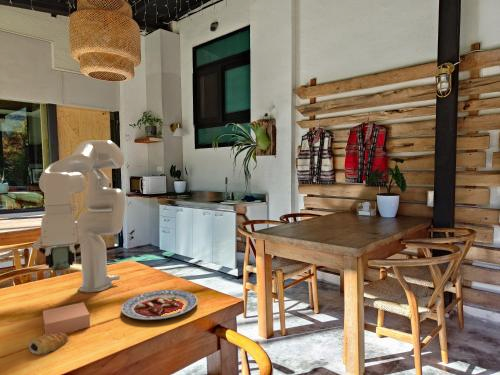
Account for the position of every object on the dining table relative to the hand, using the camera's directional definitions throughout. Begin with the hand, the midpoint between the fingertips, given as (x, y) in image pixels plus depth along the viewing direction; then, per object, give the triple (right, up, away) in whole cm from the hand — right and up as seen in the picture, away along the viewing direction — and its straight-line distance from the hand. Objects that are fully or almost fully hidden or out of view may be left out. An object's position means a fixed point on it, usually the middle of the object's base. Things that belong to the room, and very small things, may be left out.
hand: (60, 265), depth 115 cm
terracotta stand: (+3, -18, -2) cm, 19 cm away
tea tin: (0, -1, 0) cm, 1 cm away
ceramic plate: (+30, -18, +9) cm, 36 cm away
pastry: (+5, -20, -16) cm, 26 cm away
